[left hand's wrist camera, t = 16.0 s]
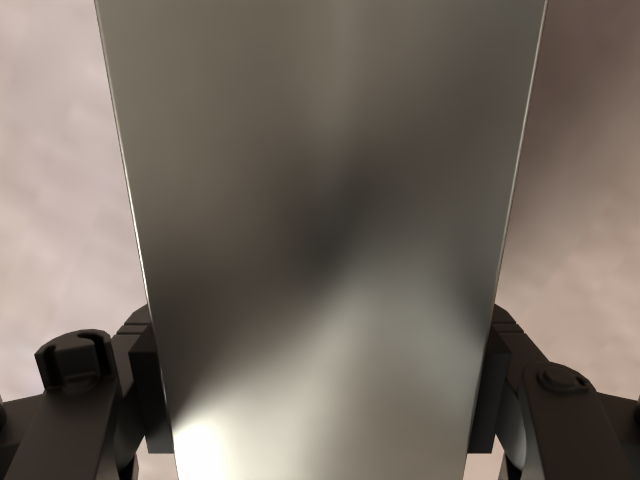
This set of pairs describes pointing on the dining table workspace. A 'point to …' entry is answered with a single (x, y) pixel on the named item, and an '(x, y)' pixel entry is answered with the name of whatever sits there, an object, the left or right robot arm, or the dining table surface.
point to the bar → (320, 221)
